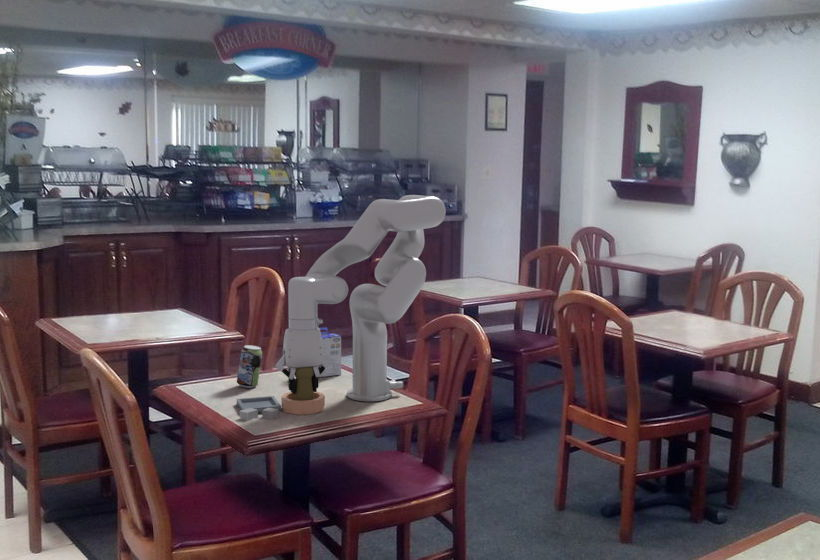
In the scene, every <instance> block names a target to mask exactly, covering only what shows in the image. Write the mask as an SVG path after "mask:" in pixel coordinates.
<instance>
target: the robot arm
mask: <svg viewBox="0 0 820 560" xmlns="http://www.w3.org/2000/svg"><path fill="white" fill-rule="evenodd" d="M446 213H447V211H446V206H445V204H444V202H443V200H442V199H440V198H439V197H436V196H431V195H430V196H429V195H419V194H418V195H417V194H407V195H403V196H402V197H400V198H399V199H387V198H379V199H375V200H373V201H372V202H371V203H369V205H368V206H367V207H366V209H365V211H364V212H363V213H362V214H361V216H360V217H359V218H358V220H357V221H356V223H355V224H354V225H353V227H352V228H351V229H350V231H349V232H348V233H347V234H346V236H345V237H344V238H343V239H342V240H340V241H339V242H337V243H336V244H334V245H333V246H332V247H330V248H329V249H327V250H326V251H325V252H324V253H322V254H321V255H320V256H319V257H318V259H316V261H315V262H314V263H313V265H312V266H311V267H310V269H309V270H308V271H307V273H306V274H305V276H295V277H292V278H290V280H289V281H288V289H287V290H288V292H287V293H288V294H287V295H288V297H287V298H288V328H286V329H285V331H284V337H283V347H282V356H281V357H280V359H279V360H278V361H277V363H276V364H275V368H276V369H277V370H278V371H280V372H281V373H283V375H285V376H286V377H287V378H288V381H287V382H288V391H290V392H292V394H295V393H296V377H295V375H294V374H295V371H296V368H303V367H313V370H314V374H313V376H312V385H313V392H318V390H317V389H319V378H320V377H319V376H320V374H321V373H322V372H323V371H324V370H325V368H327V367H328V366H329V365H330V364H331V362H330V361H329V360H328V358H327V357H326V356H325V355H324V354H323V346H322V337H321V330H320V329H319V328H320V326H319V325H323V324H324V320H323V318H319V317H318V305H320V304H321V305H322V304H323V305H324V304H325V305H337V304H339V303H342V302H344V300H345V299H346V298H347V296H348V294H349V286H348V284H347V282H346V280H345V279H344V278H342V277H340V276H336V275H338V274H339V273H340V272H341V271H342V270H344V269H346V268H347V267H349V266H351V265H353V264H357V263H360V262H362V261H365V260H367V259H369V258H370V257H371V256H372V255H373V253H374V252H375V251H376V249H377V248H378V246H379V245H380V244H381V242H382V241H383V240H384V238H385V237H386V236H387V234H388V233H389V232H396V236H395V238H394V239H393V241H392V242H391V244H390V245H389V247H388V248H387V250H386V251H385V253H384V254H383V255H382V257H381V258H380V260H379V261H378V263H377V265H376V266H375V268H374V278H375V280H376V281H377V282H378V283H379V284H380V285H378V284H374V283H363V284H359V285H358V286H356V287H355V288H354V289H353V290H352V291H351V294H350V297H349V310H350V311H349V312H350V315H351V322H352V323H351V324H352V388H350V389H348V390H346V397H347V398H349V399H351V400H352V401H358V402H369V403H370V402H372V403H373V402H380V401H387V400H388V399H390V398H392V397H393V392H392V391H393V389H403V388H404V382H403V381H401V380H399V381H396V380H395V379H394V380H389V379H388V378H387V370H388V369H387V366H388V362H387V361H388V355H387V354H388V353H387V352H388V330H387V326H386V325H387V324H395V323H397V322H398V321H399V320H401V318H402V317H403V316H404V315H405V313H407V310H408V309H409V307H410V306H411V305H412V303H413V302H414V300H415V299H416V297H418V295H419V293H420V292H421V289H422V288H423V287H424V285H425V282H426V278H427V270H426V267H425V264H424V263H423V261H422V260H420V259H419V257H420V256H421V255H422V252H423V250H424V247H425V242H426V241H425V233H424V232H425V231H424V230H425V229H431V228H435V227H438V226H439V225H441V224H442V223H443V221H444V220H445V218H446ZM323 361H324V362H323ZM284 365H285V366H286V367H287V368H286V367H284ZM318 366H319V367H318Z"/></svg>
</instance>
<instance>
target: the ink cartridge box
mask: <svg viewBox="0 0 820 560" xmlns="http://www.w3.org/2000/svg"><path fill="white" fill-rule="evenodd" d="M318 328H319V329H320V332H321V331H322V332H321V337H322V346H323V354H324V355H325V356H326V357H327V358H328V360H329V361H330V362H331V364H330V365H329V366H328V367H327V368H325V370H324V371H323V372H322V373H321V374H320V376H319V377H318V378H322V377H323V378H324V377H330V376H341V375H342V336H341V335H339V334H337V333H329V330H328V329H329V328H328V327H327V326H325V327H318ZM323 362H324V361H323ZM318 367H319V366H318Z"/></svg>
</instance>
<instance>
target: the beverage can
mask: <svg viewBox="0 0 820 560" xmlns="http://www.w3.org/2000/svg"><path fill="white" fill-rule="evenodd" d="M262 359H263V351H262V347H260V346H258V345H252V344H251V345H250V344H246V345H244V346H243V348H242V349H241V351H240V357H239V364H238V369H237V370H238V371H237V378H236V383H237V384H238V385H239V386H240V387H242V388H247V389H251V388H252V389H253V388H255V387H256V386H258V385H259V378H260V373H261V365H262Z"/></svg>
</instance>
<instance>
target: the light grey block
mask: <svg viewBox="0 0 820 560" xmlns="http://www.w3.org/2000/svg"><path fill="white" fill-rule="evenodd" d="M258 417H259V413H258V410H257V409H253V408H248V409H244V410H241V411H239V419H240V418H241V419H240V420H243V419H244V420H243V421H247V420H248V421H250V419H251V420H254V419H257V418H258ZM253 418H254V419H253Z"/></svg>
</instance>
